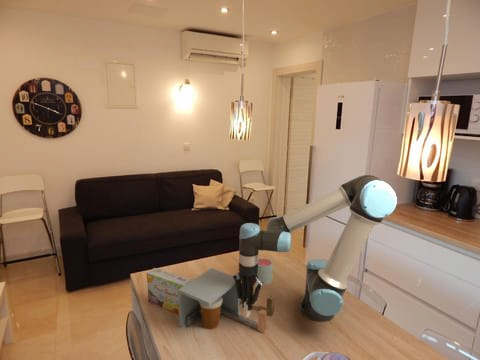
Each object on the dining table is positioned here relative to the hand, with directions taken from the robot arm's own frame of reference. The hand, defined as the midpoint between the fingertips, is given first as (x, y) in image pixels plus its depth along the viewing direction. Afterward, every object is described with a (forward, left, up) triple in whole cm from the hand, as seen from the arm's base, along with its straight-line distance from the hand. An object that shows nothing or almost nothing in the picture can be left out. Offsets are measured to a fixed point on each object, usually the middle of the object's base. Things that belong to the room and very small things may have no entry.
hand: (246, 315), depth 126 cm
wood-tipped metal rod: (+5, +7, -3) cm, 9 cm away
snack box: (+34, +10, -4) cm, 35 cm away
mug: (+11, -36, -4) cm, 38 cm away
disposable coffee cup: (+12, +8, -4) cm, 15 cm away
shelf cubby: (+14, +7, -4) cm, 15 cm away
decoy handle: (+4, -11, -4) cm, 12 cm away
